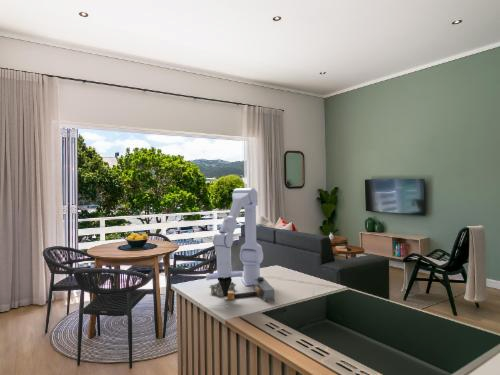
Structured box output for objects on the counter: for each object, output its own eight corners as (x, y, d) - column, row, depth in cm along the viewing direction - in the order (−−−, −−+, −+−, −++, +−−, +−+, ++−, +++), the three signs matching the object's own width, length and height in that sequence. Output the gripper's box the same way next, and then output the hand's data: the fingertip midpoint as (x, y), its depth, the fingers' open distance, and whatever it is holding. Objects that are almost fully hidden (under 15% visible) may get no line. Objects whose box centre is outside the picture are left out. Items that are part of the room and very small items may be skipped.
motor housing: (255, 289, 150) (254, 276, 150) (263, 288, 151) (263, 275, 150) (264, 301, 134) (264, 287, 134) (274, 300, 135) (274, 286, 135)
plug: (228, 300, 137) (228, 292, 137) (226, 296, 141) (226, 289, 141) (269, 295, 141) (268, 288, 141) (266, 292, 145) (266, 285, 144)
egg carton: (220, 297, 142) (219, 287, 142) (207, 293, 147) (207, 284, 147) (237, 290, 150) (237, 280, 150) (225, 287, 155) (225, 278, 155)
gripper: (206, 266, 133) (208, 301, 133) (243, 263, 136) (244, 297, 136) (205, 262, 140) (206, 295, 140) (240, 259, 143) (241, 291, 143)
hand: (225, 295), depth 139 cm, fingers closed
